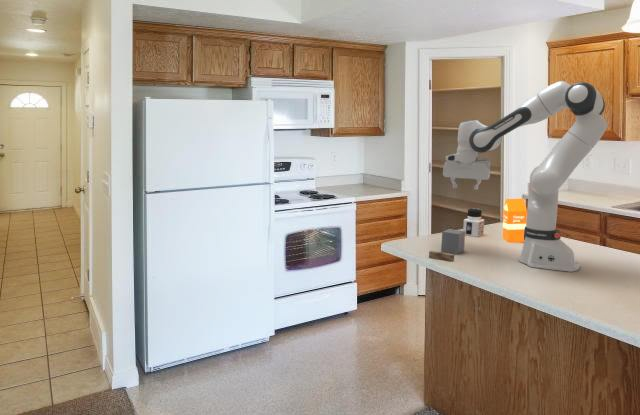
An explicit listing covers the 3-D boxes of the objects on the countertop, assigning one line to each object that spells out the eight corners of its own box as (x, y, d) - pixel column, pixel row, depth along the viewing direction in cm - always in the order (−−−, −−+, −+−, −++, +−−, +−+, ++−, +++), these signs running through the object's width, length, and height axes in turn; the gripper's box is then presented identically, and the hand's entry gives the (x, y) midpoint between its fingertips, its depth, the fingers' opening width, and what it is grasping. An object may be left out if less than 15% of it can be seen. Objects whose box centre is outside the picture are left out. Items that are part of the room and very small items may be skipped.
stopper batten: (454, 260, 214) (454, 254, 213) (452, 261, 212) (452, 255, 212) (430, 256, 219) (431, 250, 219) (428, 257, 218) (429, 251, 217)
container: (477, 237, 257) (479, 210, 254) (462, 234, 261) (464, 209, 259) (483, 234, 263) (485, 208, 261) (468, 232, 267) (470, 207, 265)
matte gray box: (463, 251, 229) (465, 231, 228) (457, 254, 223) (459, 234, 222) (447, 248, 233) (448, 228, 232) (441, 251, 228) (442, 231, 226)
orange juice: (526, 241, 247) (527, 199, 245) (507, 242, 247) (508, 199, 245) (520, 238, 255) (521, 197, 252) (502, 239, 255) (502, 198, 253)
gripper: (493, 158, 228) (491, 189, 230) (447, 155, 239) (446, 186, 241) (488, 158, 223) (486, 191, 225) (442, 156, 234) (440, 187, 236)
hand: (465, 188), depth 233 cm, fingers open, 8 cm apart
